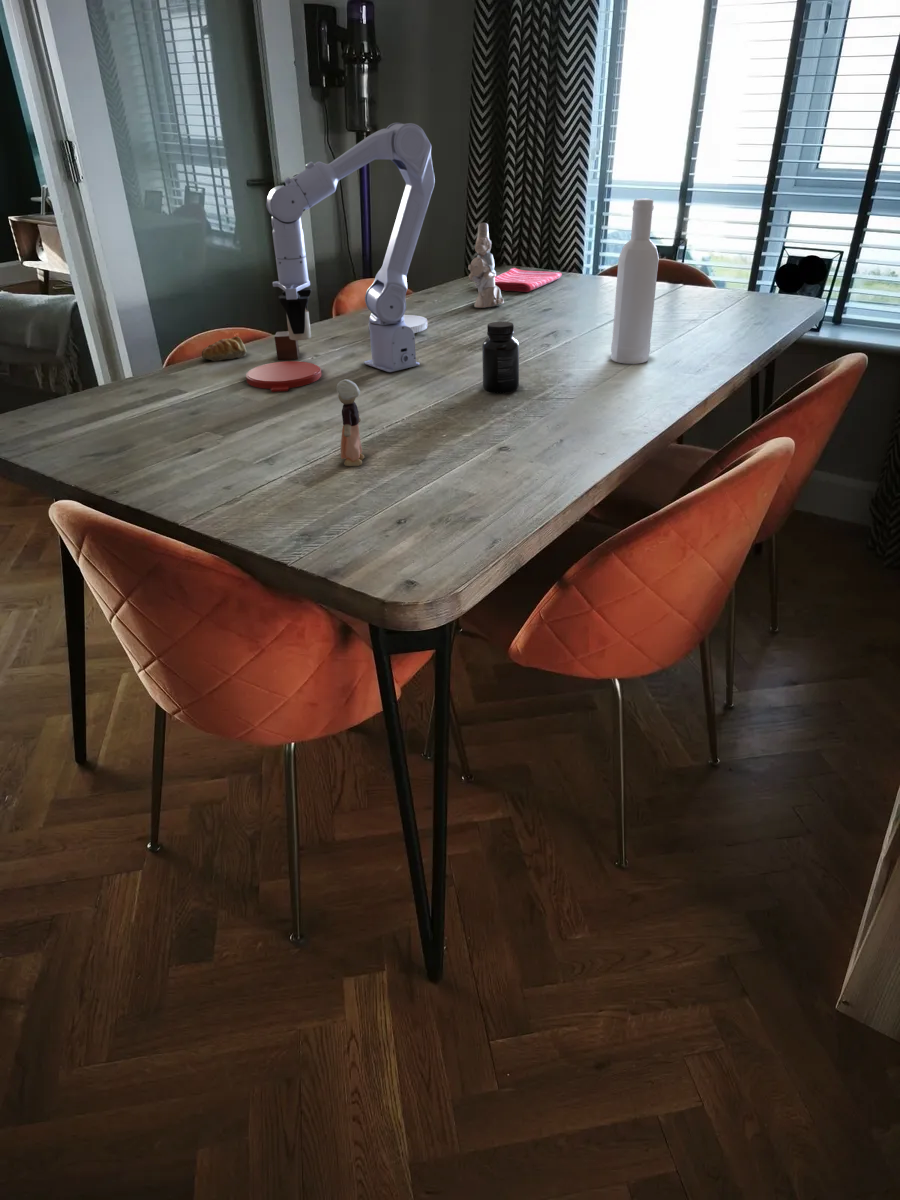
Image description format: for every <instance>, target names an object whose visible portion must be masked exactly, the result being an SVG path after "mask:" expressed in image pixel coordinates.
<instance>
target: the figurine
mask: <svg viewBox="0 0 900 1200" xmlns="http://www.w3.org/2000/svg"><path fill="white" fill-rule="evenodd" d="M492 244H493V243H492V240H491V239H490V233H489V223H487V222H480V223H478V225H477V236H476V239H475V247H474V251H475V252H476V253H477V255H476V257H474V258H472V260H471V262H470V264H468V268H467V270H469V272H470V273H469V274H468V280H469V281H471V282H474V283H475V284H474V287H475V288H477V290H478V294H477V297H476V298H475V302H474V304H473V305H474V308H480V309H481V308H482V309H483V308H491V307H492V308H493V307H495V306H500V305H502V304H504V303H505V300H504V298H503V296H502V293H501V290H500V288H499V287H497V286H496V285H495V276H497V271H496V270H495V259H494V254H493V253H491V249H492Z"/></svg>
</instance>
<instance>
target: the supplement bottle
mask: <svg viewBox="0 0 900 1200" xmlns="http://www.w3.org/2000/svg"><path fill="white" fill-rule="evenodd" d="M486 326H487V327H486V328H487V332H486V335H487V336H488V337H487V338H486V339H485V340H483V343H482V346H481V347H482V352H481V353H482V354H481V355H482V388H483V390H484V391H485V392H487V393H490V394H495V395H496V394H498V395H499V394H500V395H501V394H502V395H503V394H510V393H514V392H515V391H517V390H518V389H519V385H520V343H519V341H518V340H517V339H516V338H515V337H513V336H514V335H515V331H514V330H515V327H514V326H515V325H514V323H513V322H511V321H493V322H489V323H488V324H487V325H486Z"/></svg>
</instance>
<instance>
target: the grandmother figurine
mask: <svg viewBox="0 0 900 1200" xmlns="http://www.w3.org/2000/svg"><path fill="white" fill-rule="evenodd" d="M336 392H337V397H338V400H339V402H340V403H341V404H342V409H341V418H342V428H341V436H340V437H341V438H340V450H339V451H340V459H342V460H344V459H345V460H344V463H343V464H344V466H346V467H357V466H358V467H359V466H362V465H363V460H364V459H365V455H364V454H363V447H362V440H361V435H360V425H359V424H360V423H361V422H362V418H361V417H360V413H359V412H360V411H359V408H358V405H357V402H355V401H356V398H359V396H360V394H361V390H360V389H359V387H358V384H356V383H355V382H354V381H352V380H350V379H342V380H340V381H339V382H338V383H337V384H336Z"/></svg>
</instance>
